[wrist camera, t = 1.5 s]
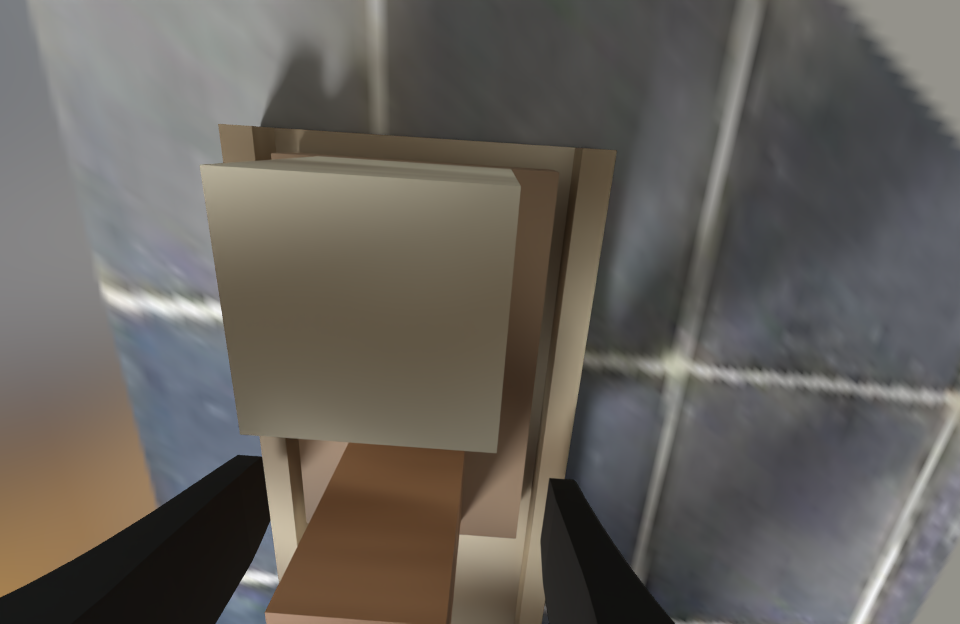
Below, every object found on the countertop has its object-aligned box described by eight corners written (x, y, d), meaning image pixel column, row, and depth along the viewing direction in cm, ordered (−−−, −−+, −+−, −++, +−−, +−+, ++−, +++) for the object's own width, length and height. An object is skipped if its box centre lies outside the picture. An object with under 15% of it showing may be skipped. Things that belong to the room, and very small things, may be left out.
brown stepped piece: (514, 511, 14) (527, 766, 8) (319, 496, 14) (198, 739, 8) (553, 169, 10) (623, 201, 5) (291, 152, 10) (45, 163, 5)
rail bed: (530, 627, 17) (533, 681, 15) (308, 610, 17) (287, 662, 15) (600, 149, 11) (619, 150, 9) (258, 126, 11) (215, 123, 9)
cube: (496, 344, 11) (496, 453, 7) (329, 332, 11) (240, 434, 7) (510, 169, 9) (521, 186, 6) (319, 156, 9) (200, 164, 6)
